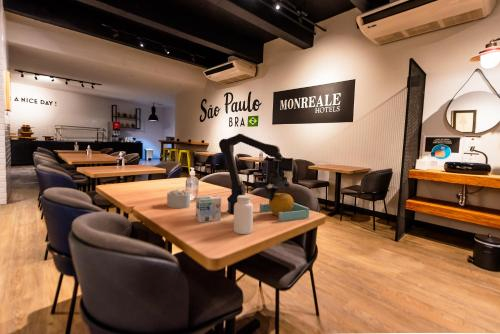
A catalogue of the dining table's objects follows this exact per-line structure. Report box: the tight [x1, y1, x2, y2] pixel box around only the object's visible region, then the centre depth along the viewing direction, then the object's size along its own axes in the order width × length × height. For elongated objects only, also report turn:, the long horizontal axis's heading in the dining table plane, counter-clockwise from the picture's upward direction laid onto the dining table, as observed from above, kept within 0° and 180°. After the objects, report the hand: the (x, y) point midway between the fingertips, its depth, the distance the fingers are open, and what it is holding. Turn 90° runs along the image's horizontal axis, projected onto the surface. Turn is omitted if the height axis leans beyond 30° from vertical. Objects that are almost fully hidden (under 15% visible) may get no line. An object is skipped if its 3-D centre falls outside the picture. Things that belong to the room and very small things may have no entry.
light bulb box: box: [195, 195, 222, 223], centre depth 125 cm, size 11×7×11 cm, turn 117°
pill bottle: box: [233, 194, 254, 235], centre depth 110 cm, size 8×8×15 cm
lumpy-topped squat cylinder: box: [166, 189, 191, 209], centre depth 148 cm, size 10×13×9 cm
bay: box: [259, 202, 310, 223], centre depth 138 cm, size 18×20×5 cm
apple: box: [268, 192, 295, 217], centre depth 137 cm, size 13×13×11 cm
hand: (270, 200), depth 134 cm, fingers closed
